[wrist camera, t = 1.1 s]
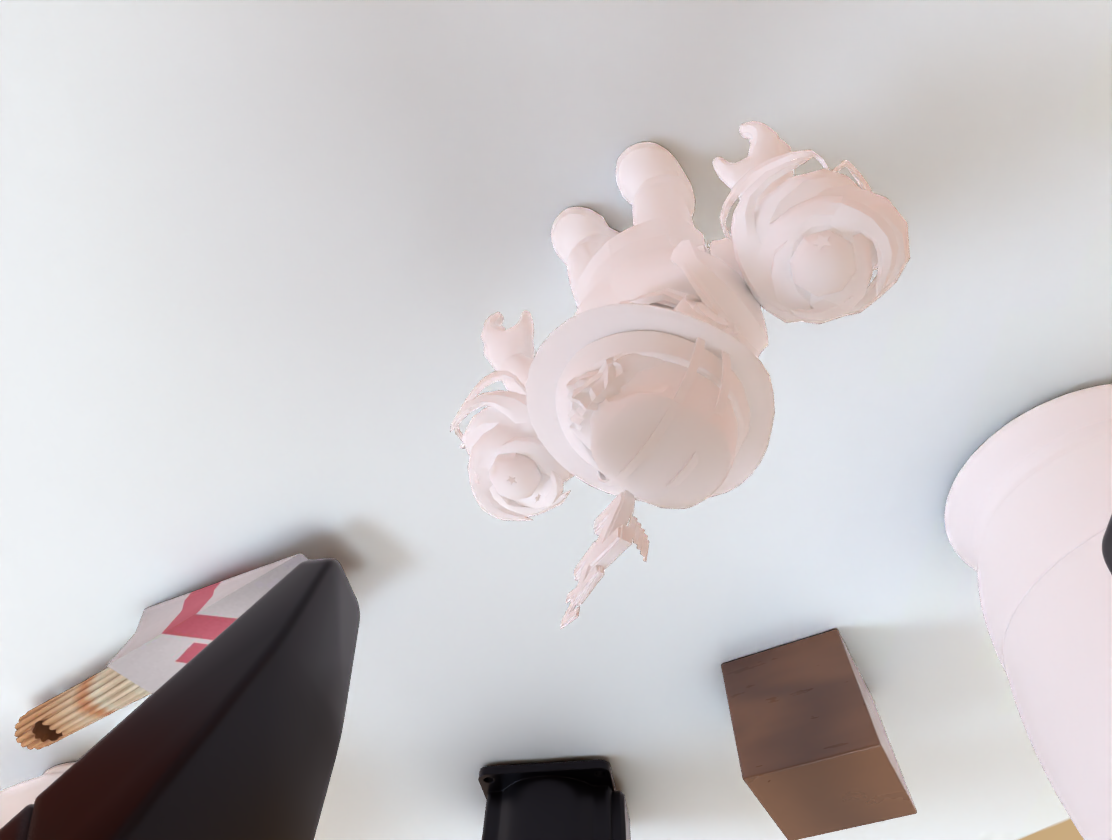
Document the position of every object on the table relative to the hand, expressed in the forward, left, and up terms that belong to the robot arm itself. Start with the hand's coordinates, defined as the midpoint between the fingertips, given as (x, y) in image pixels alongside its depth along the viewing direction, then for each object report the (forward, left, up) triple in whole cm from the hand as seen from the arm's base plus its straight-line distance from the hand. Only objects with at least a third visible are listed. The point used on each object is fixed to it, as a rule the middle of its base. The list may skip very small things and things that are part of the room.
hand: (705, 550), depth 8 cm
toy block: (+5, -21, -13) cm, 25 cm away
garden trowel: (-21, -15, -13) cm, 29 cm away
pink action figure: (0, 0, -13) cm, 13 cm away
